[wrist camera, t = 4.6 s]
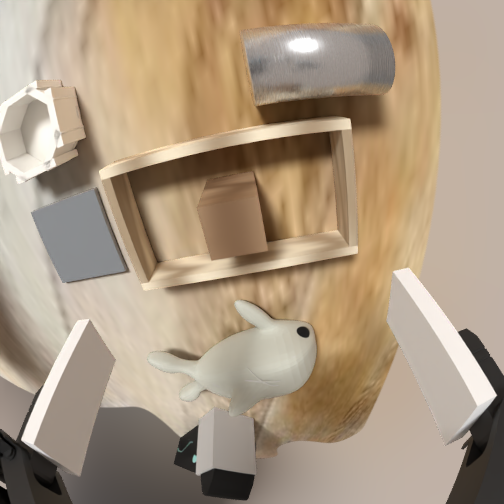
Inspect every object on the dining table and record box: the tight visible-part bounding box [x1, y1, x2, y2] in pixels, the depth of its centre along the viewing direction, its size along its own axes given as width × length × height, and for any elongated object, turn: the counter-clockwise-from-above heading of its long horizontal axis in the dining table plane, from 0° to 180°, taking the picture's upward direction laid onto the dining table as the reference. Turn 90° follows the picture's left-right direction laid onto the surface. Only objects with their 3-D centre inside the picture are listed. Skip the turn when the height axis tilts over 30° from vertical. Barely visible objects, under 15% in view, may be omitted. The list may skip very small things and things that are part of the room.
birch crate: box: [99, 116, 358, 291], centre depth 24 cm, size 20×12×4 cm, turn 100°
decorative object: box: [174, 407, 257, 500], centre depth 40 cm, size 8×18×15 cm, turn 146°
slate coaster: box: [31, 187, 127, 283], centre depth 26 cm, size 9×9×1 cm
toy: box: [147, 300, 317, 417], centre depth 31 cm, size 17×19×10 cm
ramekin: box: [0, 80, 86, 184], centre depth 19 cm, size 8×8×4 cm
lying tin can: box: [240, 23, 395, 106], centre depth 18 cm, size 10×6×6 cm, turn 100°
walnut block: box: [197, 171, 268, 261], centre depth 23 cm, size 4×4×7 cm
